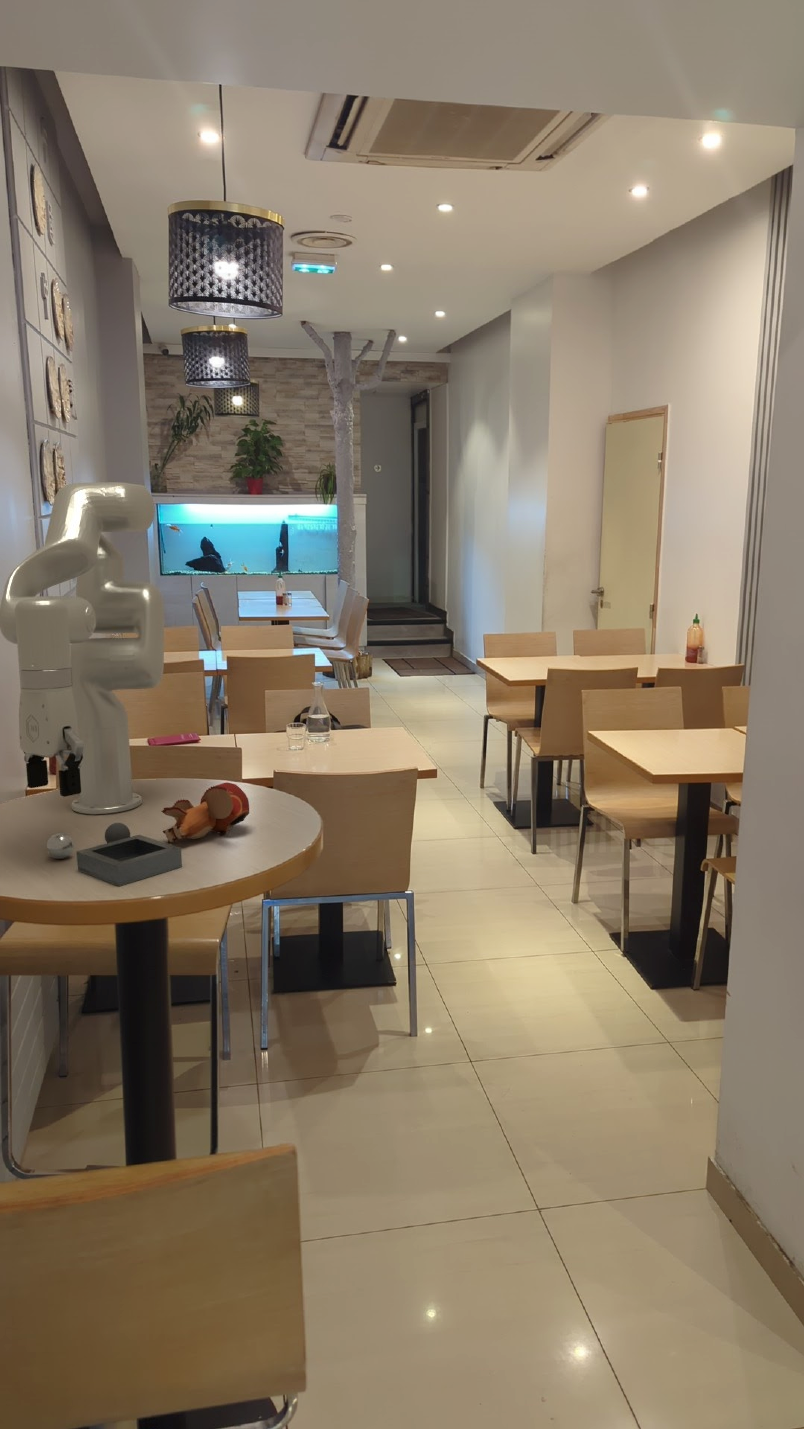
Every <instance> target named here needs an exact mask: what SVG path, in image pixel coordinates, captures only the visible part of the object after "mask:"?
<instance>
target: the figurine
mask: <svg viewBox="0 0 804 1429" xmlns="http://www.w3.org/2000/svg"><path fill="white" fill-rule="evenodd" d="M161 812H162V814H164V815H166V816H169V817H172V818H174V820H175V821H176V822H175V823H174V826H173V827H171V828H167V829H165V830H162V833H163V834H164V835H165V837H166V839H167V844H171V843H173V842H176V841H179V840H181V839H191V840H196V839H200V838H204V836H206V835H207V834H208V833H210V831H211V832H213V833H217V834H218V833H219V835H218V836H225V835H226V834H227V833H229V832H230V830H231V829H232V828H233V827H234V826H236V825H238V824H239V823H242V822H243V821H245V819H246V818H247V817H248V815H249V814H250V802H249V797H248V796H247V794H246V793H245V792H244V790H242V788H241V787H239V785H237V784H236V783H232V782H228V781H227V782H223V783H220V784H217V785H213V786H210V787H209V788H208V789H206V790H205V791H204V792H203V794H202V796H201V799H200V803H199V805H197V806H194V805H193V804H192V803H191V802H190V800H188V799H180V800H179V799H178V800H177V801H175V802H174V805H172V806H171V807H170V806H169V807H163V810H161Z"/></svg>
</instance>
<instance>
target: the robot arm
mask: <svg viewBox="0 0 804 1429" xmlns="http://www.w3.org/2000/svg"><path fill="white" fill-rule="evenodd" d="M155 512H156V511H155V501H154V498H153V495H152V494H151V492H150V490H149V489H148V488H147V487H146V486H145V485H142V484H135V483H131V482H130V483H129V482H120V481H119V482H117V481H116V482H115V481H113V482H112V481H111V482H107V481H106V482H105V481H104V482H76V483H75V482H74V483H69V484H66V485H64V486H63V487H61V488H59V490H57V492H56V494H55V496H54V500H53V505H52V508H51V514H50V517H49V522H48V527H47V531H46V535H45V540H44V541H45V542H44V545H43V546H41V547H40V548H38V549H37V550H35V551H34V552H32V554H30V555H29V556H27V557H26V558H25V559H24V560H22V561H21V562H20V563H19V564H18V565H17V566H16V567H15V568H14V569H13V571H12V572H11V573H10V574H9V576H8V578H7V580H6V582H5V585H4V590H3V593H2V598H1V600H0V601H1V602H0V632H1V634H2V636H3V638H4V639H5V640H6V641H8V642H10V643H12V644H14V645H15V644H16V646H17V647H16V648H17V658H18V660H17V661H18V670H19V686H20V694H19V705H18V706H19V707H18V731H19V732H18V735H19V736H18V737H19V747H20V749H21V751H22V752H23V754H24V757H23V759H24V762H25V767H26V768H25V769H26V780H27V781H26V782H27V787H28V788H29V789H34V788H35V789H36V788H39V787H40V788H41V787H45V786H48V785H49V775H48V760H47V759H49V758H53V757H54V756H55V759H56V760H57V763H58V765H59V767H60V770H58V780H59V781H58V782H59V794H60V796H61V797H63V798H64V797H69V796H75V795H78V796H79V797H78V798H75V799H74V800H73V801H72V802H71V809H72V810H73V811H75V812H76V813H80V814H88V815H104V814H113V813H114V814H116V813H119V812H121V813H122V812H125V811H129V810H133V809H134V808H137V807H139V806H140V805H141V804H142V796H141V795H140V794H138V793H135V792H133V780H132V779H133V778H132V766H131V765H132V763H131V762H132V760H131V748H130V746H131V745H130V732H129V731H130V730H129V717H128V713H127V712H128V711H127V709H126V708H125V706H124V704H123V702H122V701H121V700H120V699H119V698H118V696H116V694H115V693H114V692H113V691H119V690H123V691H124V690H148V689H153V688H156V687H157V686H159V685H160V684H161V682H162V679H163V675H164V669H165V668H164V666H165V665H164V664H165V662H164V661H165V658H164V657H165V654H164V653H165V607H164V599H163V595H162V592H161V590H159V588H158V587H157V586H156V585H155V584H153V583H151V582H145V581H124V580H125V578H124V576H125V571H124V570H125V561H124V558H123V556H122V554H121V552H120V551H119V550H118V548H116V547H115V545H114V544H113V543H112V542H111V541H110V540H109V539H107V537H106V536H104V535H103V533H111V532H112V533H115V532H116V533H117V532H118V533H119V532H123V533H124V532H129V533H130V532H135V533H137V532H139V533H140V532H146V531H148V530H149V529H150V527H152V524H153V522H154V520H155ZM74 578H76V583H75V584H76V585H75V596H73V595H71V596H70V595H64V596H63V595H61V596H60V595H59V596H57V595H56V596H53V595H52V596H51V595H49V596H47V595H46V596H45V595H44V596H43V595H42V596H41V595H39V596H37V595H38V594H40V593H41V592H43V591H46V589H47V590H48V589H49V588H51V587H55V586H56V585H60V584H62V583H65V582H68V581H71V580H72V579H74ZM93 634H101V635H103V634H108V635H109V634H136V635H137V637H98V638H97V637H93V638H91V636H92V635H93ZM45 758H47V759H45ZM65 758H66V759H65Z"/></svg>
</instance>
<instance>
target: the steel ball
mask: <svg viewBox="0 0 804 1429" xmlns="http://www.w3.org/2000/svg"><path fill="white" fill-rule="evenodd" d="M73 850H74V841H73V839H72V837H71V836H70V835H68V834H66V833H62V832H59V833H55V834H53V835H52V836H50V838H49V839H47V842H46V851H47V853H48V855H49V856H51V857H52V858H54V859H56V860H62V859H66V858H68V857H69V856H70V855H71V854H72V852H73Z"/></svg>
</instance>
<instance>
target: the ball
mask: <svg viewBox="0 0 804 1429" xmlns="http://www.w3.org/2000/svg"><path fill="white" fill-rule="evenodd" d="M129 837H131V830H130V828H129V827H128V826H127V825H126V824H124V823H122V822H114V823H111V824H110V825H108V827H107V828H106V829H105V832H104V840H105V842H106V843H110V842H114V841H117V840H121V839H125V838H129Z"/></svg>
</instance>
